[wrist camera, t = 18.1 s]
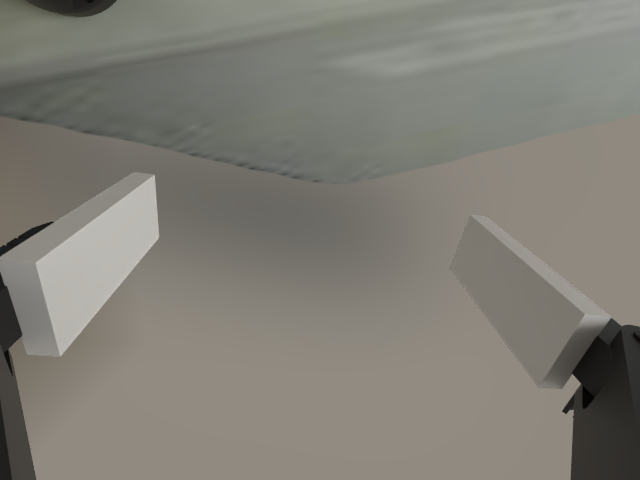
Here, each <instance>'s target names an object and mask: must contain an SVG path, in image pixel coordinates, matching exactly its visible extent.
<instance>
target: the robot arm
mask: <svg viewBox="0 0 640 480" xmlns="http://www.w3.org/2000/svg"><path fill="white" fill-rule="evenodd" d="M26 1H28V2H29V3H31V4H33V5H35V6H38V7H40V8H42V9H45V10H48V11H51V12H55V13H59V14H63V15H67V16H75V17H83V16H91V15H94V14H97V13H100V12H102V11H104V10H106V9H107V8H109V7H110V6H111V5H112V4H113V3H115V2H116V0H26ZM158 238H159V230H158V216H157V202H156V188H155V176H154V175H153V174H145V173H137V172H133V173H132V174H130V175H129V176H127V177H125V178H124V179H122V180H121V181H119V182H118V183H116V184H115V185H113V186H111V187H110V188H108V189H107V190H105V191H103V192H102V193H100V194H98V195H97V196H95V197H94V198H92V199H91V200H89V201H87V202H86V203H84V204H83V205H81V206H79V207H78V208H76V209H75V210H73V211H72V212H70V213H68V214H67V215H65V216H64V217H62V218H60V219H59V220H57V221H56V222H49V223H46V224H43V225H40V226H37V227H35V228H32V229H30V230H28V231H27V232H25V233H23V234H22V235H20V236H19V237H18V238H15V239H13V240H12V241H10V242H8V243H7V245H6V246H5V245H3V246H2V247H0V480H36V476H35V471H34V466H33V461H32V456H31V451H30V446H29V441H28V436H27V431H26V426H25V421H24V416H23V411H22V406H21V401H20V396H19V391H18V386H17V381H16V376H15V371H14V366H13V361H12V357H11V354H10V351H9V348H10V347H11V346H12V345H13V344H14V343H15V342H16V341H17V340H18V339H19V338H20V337H22V340H23V343H24V346H25V349H26V352H27V354H28V355H43V356H44V355H45V356H59V357H60V356H61V355H62V354H63V353H64V352H65V350H66V349H67V348H68V347H69V346H70V344H71V343H72V342H73V340H74V339H75V338H76V337H77V336H78V335H79V334H80V332H81V331H82V330H83V329H84V327H85V326H86V325H87V324H88V323H89V321H90V320H91V319H92V318H93V317H94V315H95V314H96V313H97V312H98V311H99V309H100V308H101V307H102V306H103V305H104V303H105V302H106V300H108V299H109V297H110V296H111V295H112V293H113V292H114V291H115V290H116V289H117V287H118V286H119V285H120V284H121V283H122V281H123V280H124V279H125V278H126V277H127V275H128V274H129V273H130V272H131V271H132V270H133V268H134V267H135V266H136V265H137V263H138V262H139V261H140V260H141V259H142V257H143V256H144V255H145V254H146V252H147V251H148V250H149V249H150V248H151V247H152V245H153V244H154V243H155V242H156V241H157V239H158ZM450 269H451V271H452V272H453V273H454V275H455V276H456V277H457V279H458V280H459V281H460V283H461V284H462V286H463V287H464V288H465V290H466V291H467V292H468V293H469V295H470V296H471V298H472V299H473V300H474V302H475V303H476V304H477V305H478V307H479V308H480V310H481V311H482V312H483V314H484V315H485V316H486V318H487V319H488V320H489V322H490V323H491V325H492V326H493V327H494V328H495V330H496V331H497V333H498V334H499V335H500V337H501V338H502V339H503V341H504V342H505V343H506V345H507V346H508V347H509V349H510V350H511V351H512V353H513V354H514V355H515V357H516V358H517V359H518V361H519V362H520V363H521V365H522V366H523V367H524V369H525V370H526V371H527V373H528V374H529V375H530V377H531V378H532V380H533V381H534V382H535V384H536V385H537V386H538V388H554V389H562V388H563V387H564V385H565V383H566V382H567V381H568V379H569V378H570V376H571V375H572V374H573V375H574V376H575V377H576V378H577V379H578V380H579V382H580V383H581V385H580V386H579V388H578V389H577V390H576V392H575V393H574V395H573V396H572V398H571V399H570V400H569V402H568V403H567V404H566V406H565V407H564V409H563V411H562V412H564V413H566V414H567V412H568V411H569V410H573V409H574V416H573V418H574V420H573V441H572V442H573V443H572V463H571V480H640V327H638V326H633V325H624V326H621V325H619V324H618V323H617V322H616V321H614V320H613V319H612V318H611V316H610V315H608V314H607V313H606V312H605V311H604V310H602V309H601V308H600V307H599V306H597V305H596V304H595V303H594V302H592V301H591V300H590V299H588V298H587V297H586V296H585V295H584V294H582V293H581V292H580V291H578V290H577V289H576V288H575V287H574V286H572V285H571V284H570V283H569V282H567V281H566V280H565V279H564V278H562V277H561V276H560V275H559V274H557V273H556V272H555V271H554V270H552V269H551V268H550V267H549V266H547V265H546V264H545V263H544V262H542V261H541V260H540V259H539V258H537V257H536V256H535V255H534V254H532V253H531V252H530V251H529V250H527V249H526V248H525V247H524V246H522V245H521V244H520V243H519V242H517V241H516V240H515V239H514V238H512V237H511V236H510V235H508V234H507V233H506V232H505V231H504V230H502V229H501V228H500V227H499V226H497V225H496V224H495V223H494V222H492V221H491V220H490V219H489V218H487V217H485V216H477V215H470V216H469V219H468V222H467V224H466V227H465V229H464V232H463V234H462V237H461V240H460V242H459V245H458V248H457V250H456V253H455V255H454V258H453V261H452V263H451V266H450Z"/></svg>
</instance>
